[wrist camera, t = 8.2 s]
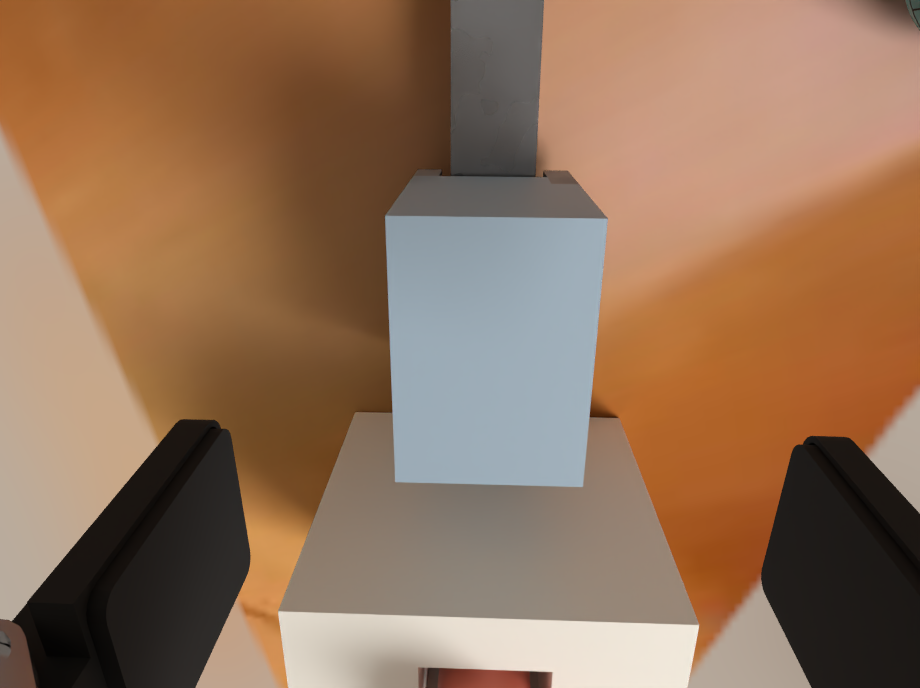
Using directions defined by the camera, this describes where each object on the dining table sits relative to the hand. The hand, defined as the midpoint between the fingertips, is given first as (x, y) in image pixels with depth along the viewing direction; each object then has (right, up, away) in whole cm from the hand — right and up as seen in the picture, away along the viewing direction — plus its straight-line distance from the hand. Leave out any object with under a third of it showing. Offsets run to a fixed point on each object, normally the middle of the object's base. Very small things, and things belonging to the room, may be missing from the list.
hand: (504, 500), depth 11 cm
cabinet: (0, -4, +20) cm, 21 cm away
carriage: (0, +5, +15) cm, 16 cm away
